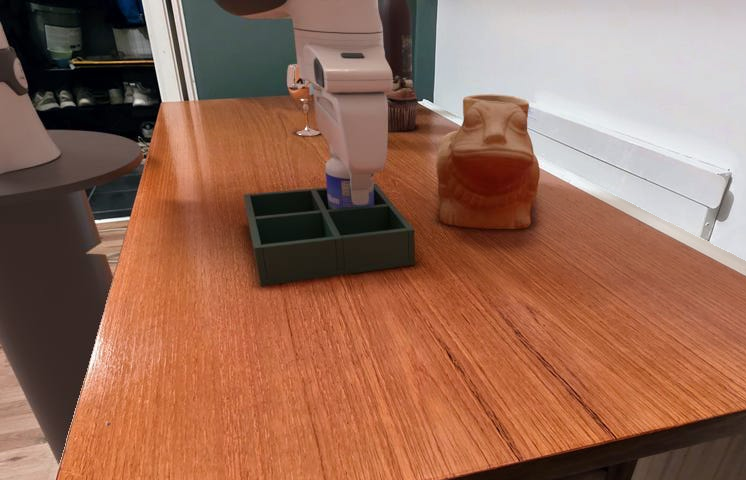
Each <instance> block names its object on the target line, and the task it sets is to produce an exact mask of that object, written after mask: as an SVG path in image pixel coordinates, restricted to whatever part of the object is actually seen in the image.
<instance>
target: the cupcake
mask: <svg viewBox="0 0 746 480" xmlns="http://www.w3.org/2000/svg"><path fill="white" fill-rule="evenodd" d="M392 78H393V88H392V91H390V92H384V93H385V95H386V97H387V103H388V132H407V131H411V130H414V129H415V128H416V123H417V122H416V120H417V117H418V110H419V100H418V97H417V96H418V95H417V92H416V90H415V89H414V82H413V79H412V80H409V79H408V78H399V76H398V75H393V76H392Z"/></svg>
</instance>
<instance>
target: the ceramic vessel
mask: <svg viewBox="0 0 746 480" xmlns="http://www.w3.org/2000/svg"><path fill="white" fill-rule="evenodd" d="M529 109H530V103H529V101H528V100H526V99H523V98H520V97H516V96H513V95H507V94H506V95H505V94H491V93H490V94H489V93H488V94H487V93H485V94H484V93H483V94H481V93H480V94H474V95H473V94H472V95H467V96H464V97H463V99H462V114H463V121H462V123H461V124H462V125H461V126H460V127H459V129H457V130H454V131H449V132H448V133H446V134H444V136H443V137H442V138H441V140H440V143H439V146H438V150H437V155H436V158H435V160H436V161H435V163H436V164H435V168H436V169H435V170H436V177H437V192H438V196H439V201H440V202H439V215H438V216H439V221H440V222H441V224H444V225H447V226H453V227H454V226H455V227H461V228H469V229H470V228H472V229H486V230H522V229H527V228H529V227H531V224H532V221H531V213H530V212H531V207H532V206H533V205H535V202H536V201H537V194H538V189H539V182H540V178H541V172H540V171H541V170H540V169H541V168H540V164H539V160H538V158H537V156H536V155H535V153H534V146H533V143H532V139H531V136H530V134H529V132H528V118H529Z"/></svg>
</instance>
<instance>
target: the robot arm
mask: <svg viewBox="0 0 746 480" xmlns="http://www.w3.org/2000/svg"><path fill="white" fill-rule="evenodd" d="M213 2H214V3H215V4H216V5H217V6H218V7H220V8H221V9H222V10H223V11H225V12H226V13H228V14H230V15H233V16H238V17H241V18H246V19H249V20H250V19H251V20H266V19H269V20H270V19H271V20H287V19H290V20H291V21H292V27H293V37H294V47H295V54H296V64H297V65H298V74H299V77H300V78H301V79H303V80H306V81H309V82H312V86H313V88H312V89H313V95H314V100H313V102H314V103H313V104H314V116H315V124H316V127H317V131H319V132H320V134H321V136H322V137H323V138H324V140H325V141H326V143H327V146H328V151H329V154H330V159H331V158H333V156H332V155H331V152H330V143H331V146H332V148H333V150H334V152H335V153H336V154H337V156H338V157H339V158H340V160H341V161H342V163H343V164H344V165H345V167H346V168H347V169H348V171H349V174H350V186H349V192H350V199H351V201H352V203H353V204H354V205H366V204H367V203H368V202H369V192H368V189H369V185H370V180H371V173H373V174H377V173H382V172H383V171H384V169H385V167H386V164H387V158H388V144H389V143H388V140H389V131H388V103H387V97H386V95H385V93H384V92H390V91H392V88H393V78H392V71H391V68H390V66H389V64H388V62H387V60H386V58H385V52H384V47H383V27H382V22H381V19H380V16H379V0H213ZM7 39H8V38H7V36H6V34H5V31H4V28H3V25H2V22H1V21H0V174H2V173H6V172H10V171H15V170H20V169H25V168H29V167H33V166H37V165H41V164H44V163H47V162H49V161H52V160H54V159H56V158H57V157H59V156H60V154H61V151H60V150H59V149H58V147H57V146H56V145H55V143H54V142H53V140H52V139H51V137H50V136H49V134H48V132H47V131H46V130H47V129H46V127H45V126H44V123H43V122H42V120H41V118H40V117H39V114H38V113H37V110H36V109H35V106H34V104H33V102H32V100H31V97H30V96H29V86H28V81H27V78H26V75H25V72H24V70H23V67H22V63H21V61H20V59H19V58H18V55H17V53H16V51H15V48H14V47H12V46H10V45H9V42H8V40H7Z"/></svg>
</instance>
